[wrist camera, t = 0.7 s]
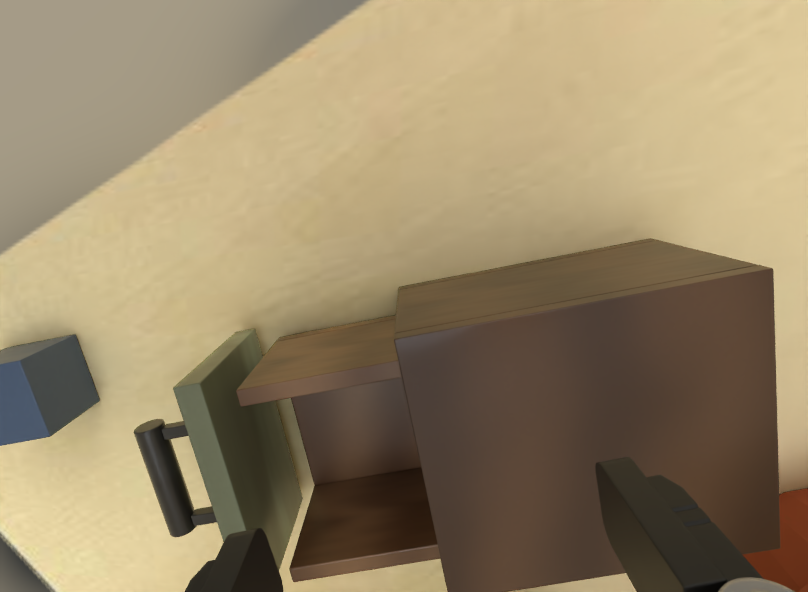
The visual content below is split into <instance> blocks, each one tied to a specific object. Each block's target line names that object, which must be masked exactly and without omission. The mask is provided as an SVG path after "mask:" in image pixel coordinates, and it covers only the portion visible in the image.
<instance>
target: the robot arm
mask: <svg viewBox="0 0 808 592" xmlns="http://www.w3.org/2000/svg"><path fill="white" fill-rule="evenodd" d="M595 470H596V478H597V484H598V491H599V498H600V505H601V512H602V519H603V523H604V527H605V531H606V534H607V536H608V539H609V542H610V544H611V546H612V548H613V550H614V552H615V554H616V555H617V557H618V559H619V561H620V563H621V564H622V566H623V568H624V570H625V571H626V573H627V575H628V577H629V579H630V580H631V582H632V584H633V586H634V588H635V589H636V591H637V592H795V591H793V590H791V589H789V588H788V587H785V586H783V585H781V584H779V583H776V582H773V581H770V580H766V579H764V578H763V577H762V576H761V575H760V574H759V573H758V572H757V571H756V569H755V568H754V567H753V566H752V565H751V564H750V563H749V562H748V560H747V559H746V558H745V557H744V556H743V555H742V554H741V553H740V551H739V550H738V549H737V548H736V547H735V546H734V545H733V544H732V542H731V541H730V540H729V539H728V538H727V537H726V536H725V535H724V533H723V532H722V531H721V530H720V529H719V528H718V527H717V526H716V524H715V523H714V522H711V520H710V518H709V517H708V515H707V514H706V513H705V512H704V511H703V510H702V509H701V508H699V507H698V504H697V503H696V502H695V501H694V500H693V499H692V497H691V496H690V495H689V494H688V493H687V492H686V491H685V490H684V488H683V487H681V486H679V485H678V484H676V483H674V482H672V481H671V480H669V479H667V478H665V477H664V476H662V475H656V476H650V477H646V476H645V475H644V473H643V472H642V471H641V470H640V468H639V467H638V466H637V465H636V463H635V462H634V461H633V460H632V459H631V458H630V457H623V458H618V459H613V460H608V461H603V462H598V463H596V466H595ZM185 592H283V585H282V580H281V577H280V574H279V571H278V568H277V565H276V562H275V559H274V556H273V553H272V550H271V548H270V545H269V542H268V539H267V536H266V533H265V532H264V530H263V529H262V528H257V529H252V530H246V531H241V532H236V533H231V534H229V535H228V536H227V537H226V539H225V541H224V543H223V545H222V547H221V549H220V552H219V554H218V556H217V558H216V560H212V561H208V562H207V563H206V564H205V565H204V566H203V567H202V568H201V570H200V571H199V572H198V573H197V574H196V575H195V576H194V577H193V578H192V579H191V581H190V583H189V584H188V586H187V588H186V590H185Z"/></svg>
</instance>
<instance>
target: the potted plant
mask: <svg viewBox="0 0 808 592" xmlns="http://www.w3.org/2000/svg"><path fill="white" fill-rule="evenodd" d="M779 509H780V547H781V548H780V549H774V550H768V551H762V552H755V553H749V554H743V556H744V557H745V558H746V559H747V560H748V562H749V563H750V564H751V565H752V566H753V567H754V568H755V569H756V571H757V572H758V573H759V574H760V575H761V576H762V577H763V578H764V579H766V580H770V581H773V582H776V583H779V584H781V585H783V586H785V587H788V588H789V589H791V590H793V591H795V592H808V488H806V489H800V490H794V491H789V492H784V493H782V494H780V495H779Z"/></svg>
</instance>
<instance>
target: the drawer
mask: <svg viewBox="0 0 808 592" xmlns="http://www.w3.org/2000/svg"><path fill="white" fill-rule="evenodd" d="M395 322H396V315H394V316H389V317H384V318H378V319H373V320H368V321H362V322H357V323H352V324H347V325H341V326H336V327H331V328H326V329H320V330H315V331H310V332H304V333H299V334H294V335H289V336H283V337H279V338H278V340H277V341H276V342H275V343H274V344H273V346H272V347H271V348H270V349H269V351H268V352H267V353H266V354H265V356H264V357H263V355H262V352H261V348H260V345H259V341H258V338H257V334H256V330H255V329H250V330H245V331H239V332H235V333H234V334H233V335H232V336H231V337H230V338H229V339H228V340H226V341H225V342H224V343H223V344H222V345H221V346H220V347H219V348H217V349H216V350H215V351H214V352H213V353H212V354H211V355H210V356H208V357H207V358H206V359H205V360H204V361H203V362H202V363H201V364H199V365H198V366H197V367H196V368H195V369H194V370H193V371H192V372H190V373H189V374H188V375H187V376H186V377H185V378H184V379H183V380H182V381H180V382H179V383H178V384H177V385H176V386H175V387H174V388H173V390H174V393H175V396H176V399H177V402H178V405H179V408H180V411H181V414H182V417H183V420H184V421H182V422H176V423H171V424H167V425H165V422H164V420H163V419H155V420H151V421H148V422H146V423H144V424H142V425H140V426H138V427H137V428H136V429H135V430H134V434H135V437H136V440H137V443H138V446H139V448H140V451H141V454H142V457H143V460H144V462H145V465H146V468H147V471H148V474H149V476H150V479H151V482H152V485H153V488H154V490H155V493H156V496H157V499H158V501H159V504H160V507H161V510H162V513H163V515H164V518H165V521H166V524H167V527H168V529H169V532H170V535H171V536H173V537H180V536H183V535H186V534H188V533H189V532H191V531H192V530H193V529H194V528H195V527H196V526H197V525H203V524H209V523H215V522H217V523H218V526H219V529H220V532H221V535H222V538H223V541H225V539H226V537H227V536H228V535H229V534H231V533H236V532H241V531H246V530H252V529H257V528H262V529H263V530H264V532H265V533H266V536H267V539H268V542H269V545H270V548H271V550H272V553H273V556H274V559H275V562H276V565H277V568H278V571H279V569H280V566H281V563H282V560H283V557H284V554H285V551H286V548H287V545H288V542H289V539H290V536H291V533H292V530H293V527H294V524H295V521H296V518H297V515H298V511H299V508H300V505H301V502H302V499H303V498H302V494H301V491H300V487H299V484H298V480H297V477H296V473H295V470H294V466H293V462H292V459H291V455H290V452H289V448H288V445H287V441H286V437H285V434H284V430H283V427H282V423H281V420H280V416H279V412H278V409H277V405H276V402H275V400H281V399H286V398H291V400H292V404H293V407H294V411H295V415H296V418H297V422H298V426H299V429H300V433H301V437H302V440H303V444H304V448H305V451H306V455H307V459H308V462H309V466H310V470H311V473H312V477H313V481H314V484H315V486H314V490H313V493H312V496H311V500H310V503H309V506H308V510H307V513H306V516H305V519H304V523H303V526H302V529H301V533H300V536H299V539H298V542H297V546H296V549H295V552H294V556H293V559H292V562H291V565H290V573H291V576H292V579H293V582H298V581H304V580H310V579H316V578H322V577H328V576H335V575H341V574H347V573H353V572H359V571H365V570H372V569H378V568H384V567H390V566H396V565H402V564H409V563H415V562H421V561H427V560H433V559H439V558H440V554H439V549H438V544H437V540H436V535H435V530H434V526H433V521H432V516H431V512H430V507H429V502H428V497H427V493H426V488H425V483H424V479H423V474H422V469H421V465H420V460H419V455H418V451H417V446H416V441H415V437H414V432H413V427H412V423H411V418H410V413H409V409H408V404H407V399H406V395H405V390H404V385H403V381H402V376H401V371H400V367H399V362H398V357H397V353H396V348H395V343H394V334H395ZM184 436H189V438H190V441H191V444H192V447H193V450H194V453H195V456H196V459H197V462H198V465H199V468H200V471H201V474H202V477H203V480H204V484H205V487H206V490H207V493H208V496H209V499H210V502H211V505H212V507H206V508H200V509H196V510H194V507H193V504H192V501H191V498H190V495H189V492H188V489H187V487H186V484H185V481H184V478H183V475H182V472H181V469H180V466H179V463H178V460H177V457H176V454H175V451H174V448H173V445H172V442H171V440H170V439H173V438H178V437H184Z"/></svg>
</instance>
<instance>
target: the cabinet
mask: <svg viewBox="0 0 808 592" xmlns="http://www.w3.org/2000/svg"><path fill="white" fill-rule="evenodd" d="M394 343H395V348H396V353H397V357H398V362H399V367H400V371H401V376H402V381H403V385H404V390H405V395H406V399H407V404H408V409H409V413H410V418H411V423H412V427H413V432H414V437H415V441H416V446H417V451H418V455H419V460H420V465H421V469H422V474H423V479H424V483H425V488H426V493H427V497H428V502H429V507H430V512H431V516H432V521H433V526H434V530H435V535H436V540H437V544H438V549H439V554H440V558H441V563H442V568H443V572H444V577H445V582H446V586H447V591H448V592H508V591H514V590H520V589H527V588H533V587H539V586H546V585H552V584H558V583H565V582H571V581H578V580H584V579H590V578H597V577H603V576H609V575H616V574H622V573H626V571H625V570H624V568H623V566H622V564H621V563H620V561H619V559H618V557H617V555H616V554H615V552H614V550H613V548H612V546H611V544H610V542H609V539H608V536H607V534H606V531H605V527H604V523H603V519H602V512H601V505H600V498H599V491H598V484H597V478H596V470H595V466H596V463H598V462H603V461H608V460H613V459H618V458H623V457H630V458H631V459H632V460H633V461H634V462H635V463H636V465H637V466H638V467H639V468H640V470H641V471H642V472H643V473H644V475H645V476H646V477H650V476H656V475H662V476H664V477H665V478H667V479H669V480H671V481H672V482H674V483H676V484H678V485H679V486H681V487H683V488H684V490H685V491H686V492H687V493H688V494H689V495H690V496H691V497H692V499H693V500H694V501H695V502H696V503H697V504H698V507H699V508H701V509H702V510H703V511H704V512H705V513H706V514H707V515H708V517H709V518H710V520H711V522H714V523H715V524H716V526H717V527H718V528H719V529H720V530H721V531H722V532H723V533H724V535H725V536H726V537H727V538H728V539H729V540H730V541H731V542H732V544H733V545H734V546H735V547H736V548H737V549H738V550H739V551H740V553H741V554H742V555H743V554H749V553H755V552H762V551H768V550H774V549H780V548H781V547H780V509H779V472H778V434H777V396H776V359H775V321H774V283H773V269H772V268H768V267H764V266H760V265H756V264H752V263H748V262H744V261H740V260H736V259H732V258H728V257H724V256H719V255H715V254H711V253H707V252H703V251H699V250H695V249H691V248H687V247H683V246H679V245H675V244H671V243H667V242H663V241H659V240H655V239H646V240H640V241H635V242H630V243H625V244H620V245H614V246H609V247H604V248H599V249H594V250H588V251H583V252H578V253H573V254H568V255H562V256H557V257H552V258H547V259H542V260H537V261H531V262H526V263H521V264H516V265H511V266H505V267H500V268H495V269H490V270H485V271H479V272H474V273H469V274H464V275H459V276H454V277H448V278H443V279H438V280H433V281H428V282H422V283H417V284H412V285H407V286H402V287H399V288H398V300H397V311H396V322H395V334H394Z"/></svg>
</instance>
